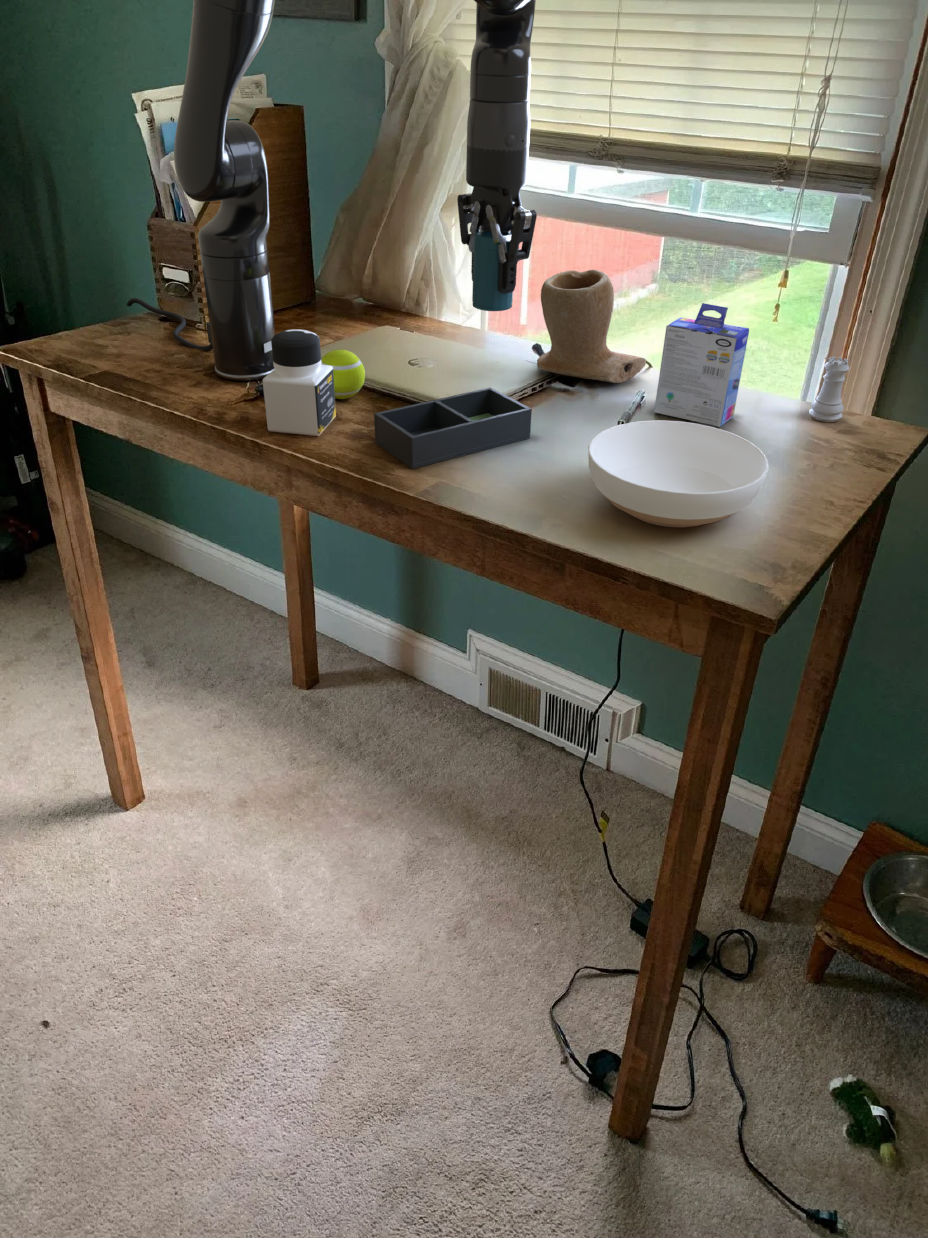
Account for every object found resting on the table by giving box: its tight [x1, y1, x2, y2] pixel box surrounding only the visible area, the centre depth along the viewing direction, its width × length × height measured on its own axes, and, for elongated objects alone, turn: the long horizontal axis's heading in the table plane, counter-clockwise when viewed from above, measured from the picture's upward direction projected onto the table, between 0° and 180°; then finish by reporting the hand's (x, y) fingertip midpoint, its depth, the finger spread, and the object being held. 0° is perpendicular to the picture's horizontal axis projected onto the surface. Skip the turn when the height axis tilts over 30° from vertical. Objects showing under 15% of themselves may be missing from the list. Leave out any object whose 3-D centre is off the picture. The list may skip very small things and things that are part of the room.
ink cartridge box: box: [653, 302, 750, 428], centre depth 125 cm, size 10×6×14 cm, turn 58°
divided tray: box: [373, 386, 533, 470], centre depth 120 cm, size 9×18×4 cm, turn 124°
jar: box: [471, 231, 514, 312], centre depth 122 cm, size 5×5×9 cm
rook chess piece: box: [808, 356, 851, 423], centre depth 127 cm, size 4×4×8 cm
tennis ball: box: [321, 348, 366, 400], centre depth 131 cm, size 7×7×7 cm
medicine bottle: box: [262, 328, 337, 437], centre depth 121 cm, size 7×7×12 cm
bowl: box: [587, 419, 770, 528], centre depth 105 cm, size 20×20×6 cm
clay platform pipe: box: [536, 269, 647, 384], centre depth 138 cm, size 15×12×15 cm
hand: (492, 286), depth 123 cm, fingers closed on jar, 5 cm apart
